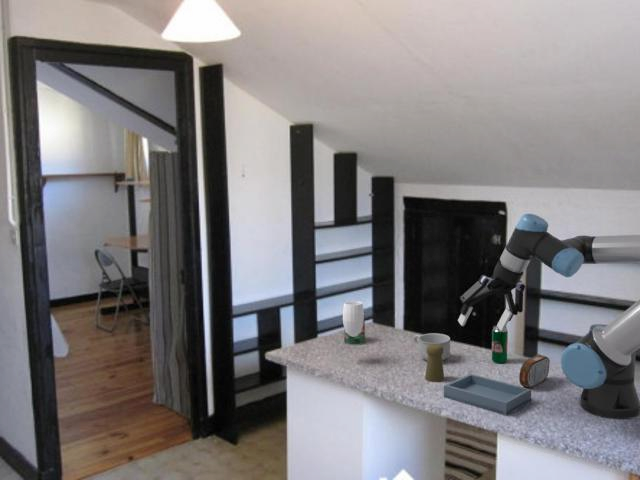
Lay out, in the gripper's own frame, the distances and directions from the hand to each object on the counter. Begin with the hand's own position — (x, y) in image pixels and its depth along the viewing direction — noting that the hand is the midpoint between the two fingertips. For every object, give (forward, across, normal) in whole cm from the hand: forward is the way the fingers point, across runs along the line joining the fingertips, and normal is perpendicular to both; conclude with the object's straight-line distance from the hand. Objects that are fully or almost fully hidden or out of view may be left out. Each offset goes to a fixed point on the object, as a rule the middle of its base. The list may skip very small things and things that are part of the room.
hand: (480, 326), depth 189 cm
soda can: (+23, -26, -14) cm, 37 cm away
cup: (+39, +20, -26) cm, 51 cm away
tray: (+16, -3, +13) cm, 21 cm away
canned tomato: (+46, +10, -47) cm, 67 cm away
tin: (+14, -23, +7) cm, 28 cm away
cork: (+25, +2, -5) cm, 26 cm away
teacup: (+31, -6, -23) cm, 39 cm away
